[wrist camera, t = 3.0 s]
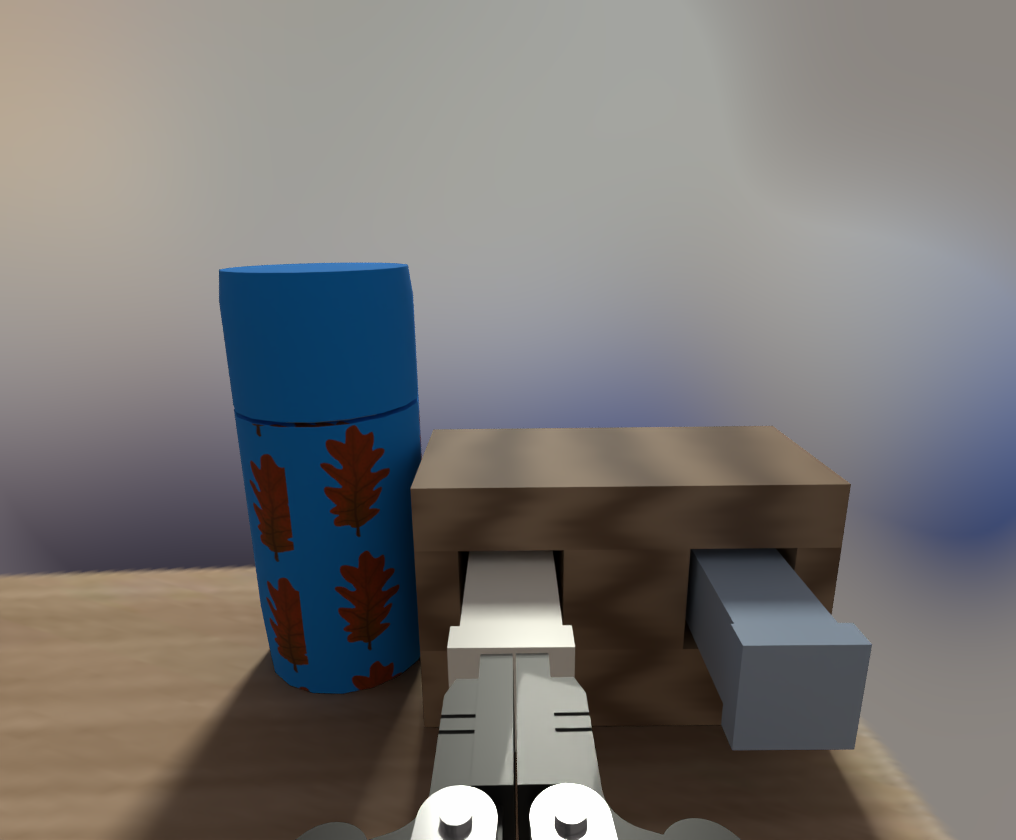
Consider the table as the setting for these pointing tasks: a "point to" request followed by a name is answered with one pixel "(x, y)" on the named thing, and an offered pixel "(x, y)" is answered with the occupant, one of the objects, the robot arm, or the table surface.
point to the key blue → (774, 653)
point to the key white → (510, 615)
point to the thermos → (328, 463)
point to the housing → (618, 543)
